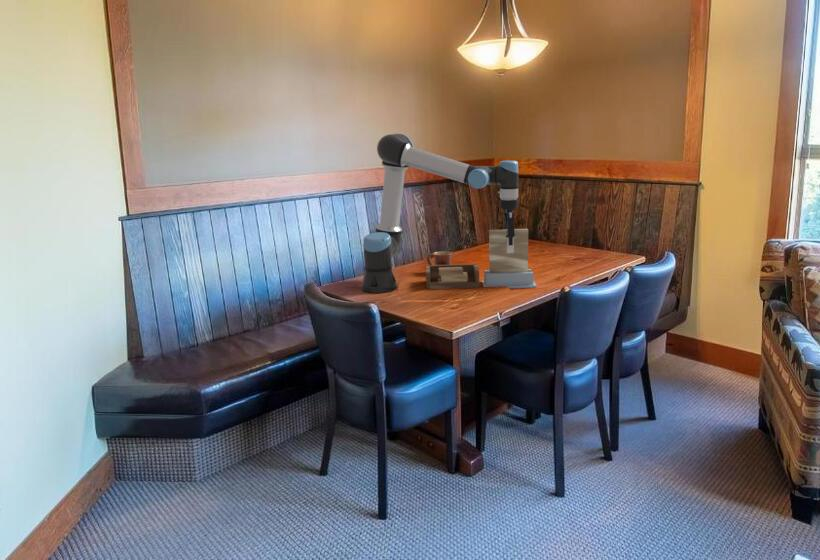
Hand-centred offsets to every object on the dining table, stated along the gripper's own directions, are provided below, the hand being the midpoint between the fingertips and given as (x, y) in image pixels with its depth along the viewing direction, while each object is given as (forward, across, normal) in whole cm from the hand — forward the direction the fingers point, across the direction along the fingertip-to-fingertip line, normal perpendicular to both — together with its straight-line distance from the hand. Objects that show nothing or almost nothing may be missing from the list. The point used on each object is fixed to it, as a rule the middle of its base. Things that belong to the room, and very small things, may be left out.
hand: (508, 249), depth 258 cm
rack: (+16, 0, -24) cm, 28 cm away
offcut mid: (+12, +2, -23) cm, 26 cm away
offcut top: (+10, +2, -24) cm, 26 cm away
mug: (+16, -22, -29) cm, 40 cm away
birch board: (+14, 0, 0) cm, 15 cm away
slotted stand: (+15, 0, 0) cm, 16 cm away
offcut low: (+15, +2, -24) cm, 28 cm away
